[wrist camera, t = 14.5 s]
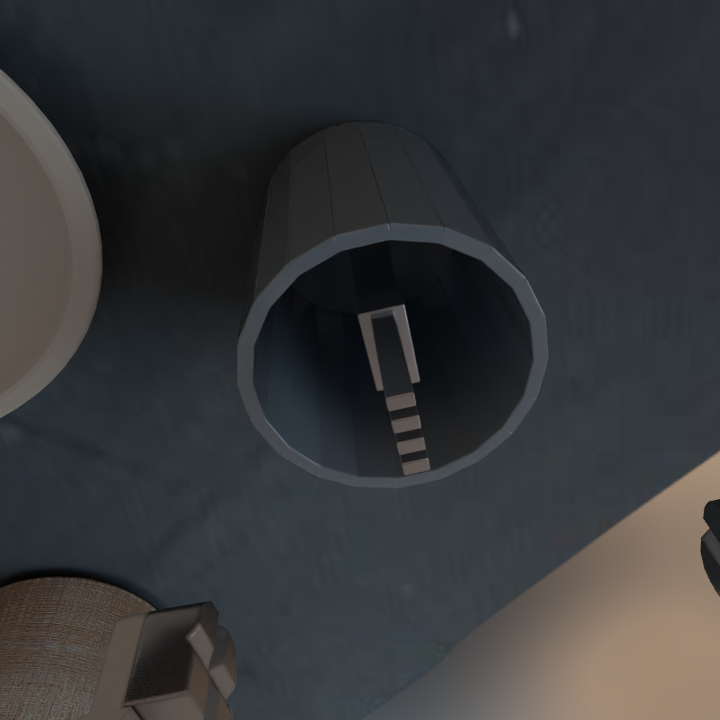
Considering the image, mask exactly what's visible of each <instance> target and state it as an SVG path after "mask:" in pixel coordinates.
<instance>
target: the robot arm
mask: <svg viewBox="0 0 720 720" xmlns="http://www.w3.org/2000/svg"><path fill="white" fill-rule="evenodd" d="M703 519H704V520H705V522H706V523H707V524H708V526H709V528H710V529H709V530H708V531H707V532H706V533H705V534H704V535H703V536H702V537H701V556H702V560H703V564H704V569H705V571H706V573H707V575H708V578H709V580H710V582H711V583H712V585H713V587H714V589H715V590H716V592H717V594H718V595H719V596H720V499H718V500H714V501H709V502H708V503H707V505H706V506H705V508H704V517H703ZM218 614H219V613H218V611H217V610H216V608H215V606H214V605H213V603H212V601H209V602H202V603H196V604H190V605H184V606H178V607H172V608H166V609H160V610H155V611H149V612H144V613H138V614H133V615H128V616H122V617H121V618H120V619H119V620H118V622H117V623H116V625H115V626H114V629H113V632H112V636H111V639H110V643H109V646H108V650H107V653H106V657H105V660H104V663H103V667H102V670H101V674H100V677H99V681H98V684H97V687H96V691H95V694H94V698H93V701H92V705H91V708H90V711H89V714H87V715H83V716H80V717H79V718H78V719H77V720H232V718H233V713H232V711H231V709H230V708H229V706H228V704H227V703H226V700H227V698H228V697H229V695H230V694H231V693H232V691H233V690H234V688H235V687H236V677H237V662H236V650H235V647H234V643H233V640H232V637H231V635H230V633H229V631H228V630H227V629H226V628H224V627H222V626H220V625H218V624H217V622H218Z"/></svg>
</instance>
